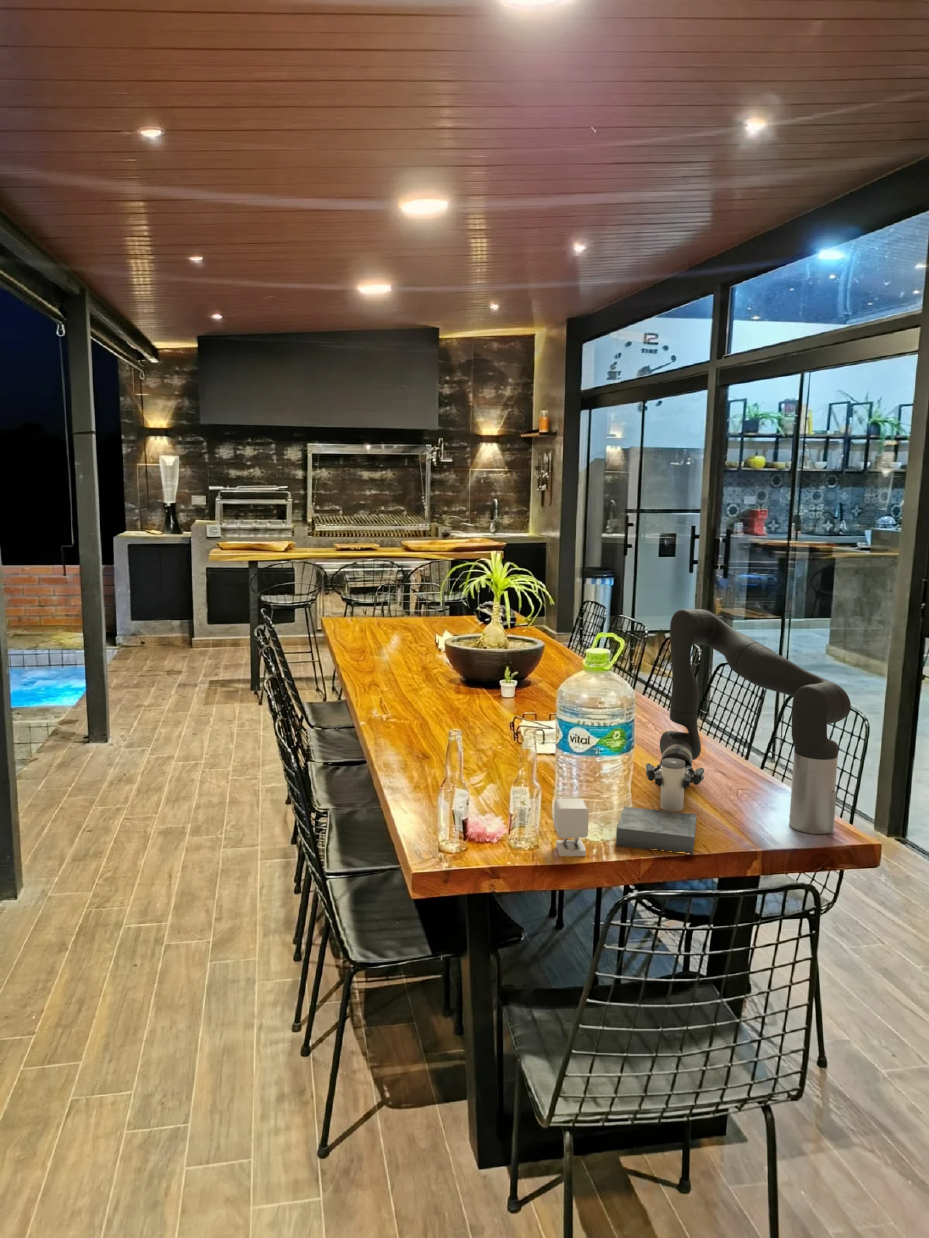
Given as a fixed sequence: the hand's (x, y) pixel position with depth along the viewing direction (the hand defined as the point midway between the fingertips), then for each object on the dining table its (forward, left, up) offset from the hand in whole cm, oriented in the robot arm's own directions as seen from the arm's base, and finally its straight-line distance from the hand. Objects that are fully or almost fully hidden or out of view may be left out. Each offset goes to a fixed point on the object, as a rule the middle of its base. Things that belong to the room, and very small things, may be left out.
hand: (672, 783), depth 211 cm
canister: (0, -2, -7) cm, 7 cm away
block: (+2, +11, -9) cm, 15 cm away
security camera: (+19, +23, -9) cm, 32 cm away
